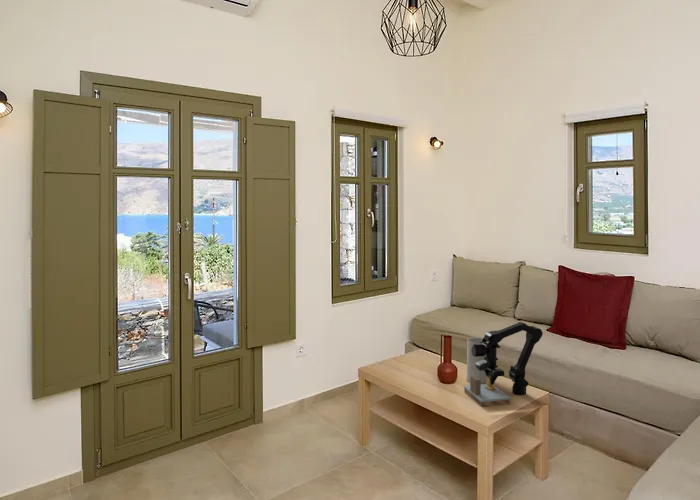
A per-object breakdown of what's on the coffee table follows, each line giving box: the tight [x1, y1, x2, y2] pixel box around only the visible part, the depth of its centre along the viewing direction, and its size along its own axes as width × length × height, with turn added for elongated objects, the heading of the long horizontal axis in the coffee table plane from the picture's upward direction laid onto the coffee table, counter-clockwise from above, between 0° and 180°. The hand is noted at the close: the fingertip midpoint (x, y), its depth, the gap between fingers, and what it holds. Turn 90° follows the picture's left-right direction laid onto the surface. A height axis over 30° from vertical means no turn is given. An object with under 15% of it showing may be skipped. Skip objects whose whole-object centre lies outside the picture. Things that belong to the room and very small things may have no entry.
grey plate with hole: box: [463, 376, 511, 402], centre depth 256 cm, size 16×20×9 cm
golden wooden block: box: [485, 375, 496, 391], centre depth 260 cm, size 3×3×10 cm
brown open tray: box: [463, 387, 511, 408], centre depth 257 cm, size 16×20×4 cm
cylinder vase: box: [466, 337, 488, 384], centre depth 283 cm, size 12×12×25 cm
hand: (490, 383), depth 260 cm, fingers closed on golden wooden block, 3 cm apart
